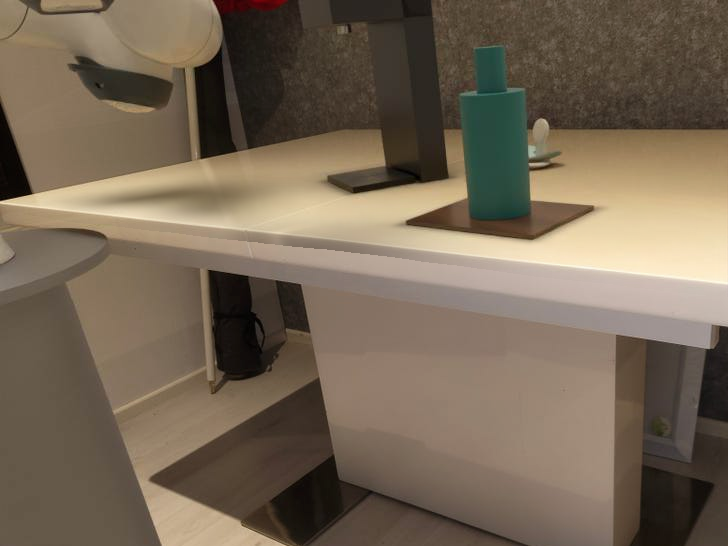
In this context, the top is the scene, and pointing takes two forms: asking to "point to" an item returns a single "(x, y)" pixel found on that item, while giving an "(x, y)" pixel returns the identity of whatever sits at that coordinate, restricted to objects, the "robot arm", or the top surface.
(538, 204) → the board
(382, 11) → the dark post on base
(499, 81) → the bottle
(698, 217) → the top surface
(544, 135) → the pacifier
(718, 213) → the top surface
